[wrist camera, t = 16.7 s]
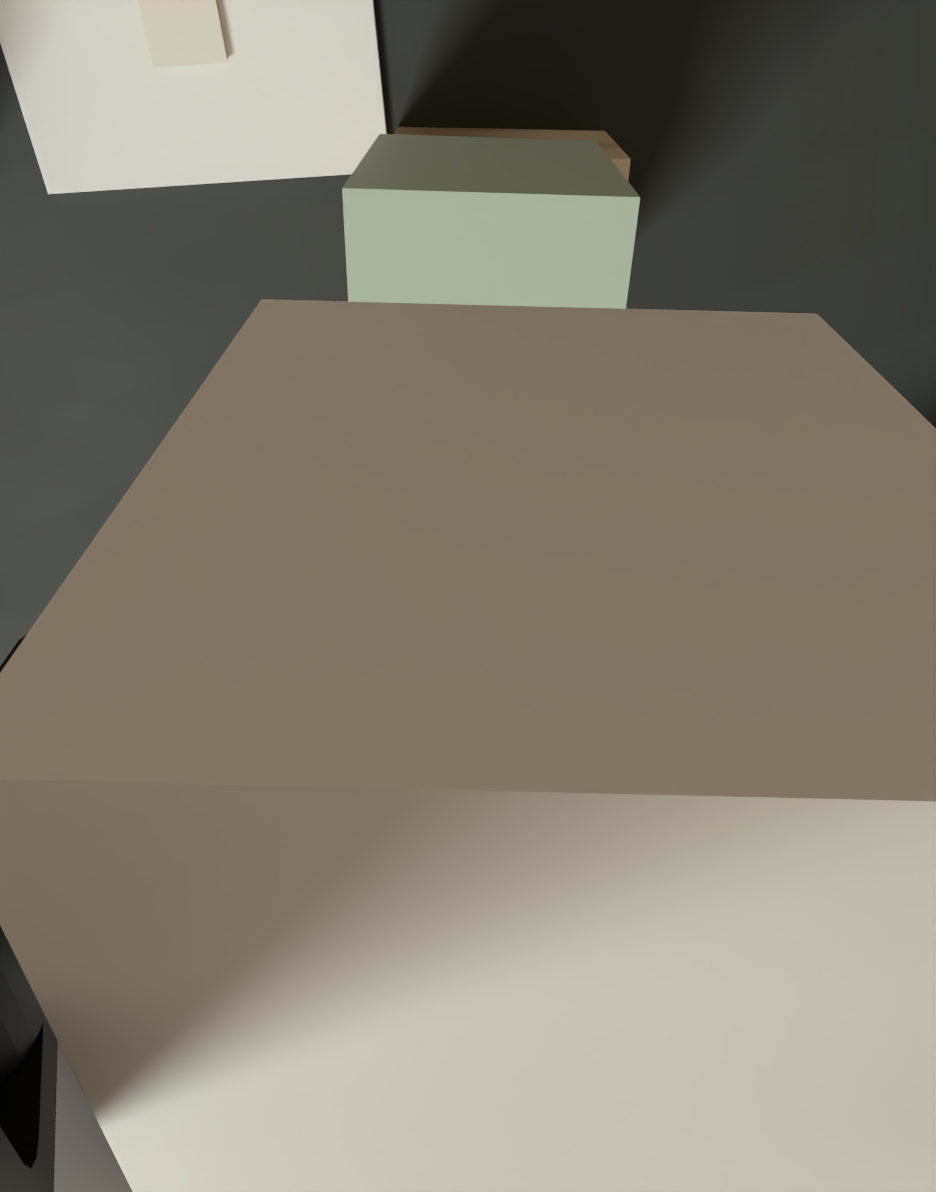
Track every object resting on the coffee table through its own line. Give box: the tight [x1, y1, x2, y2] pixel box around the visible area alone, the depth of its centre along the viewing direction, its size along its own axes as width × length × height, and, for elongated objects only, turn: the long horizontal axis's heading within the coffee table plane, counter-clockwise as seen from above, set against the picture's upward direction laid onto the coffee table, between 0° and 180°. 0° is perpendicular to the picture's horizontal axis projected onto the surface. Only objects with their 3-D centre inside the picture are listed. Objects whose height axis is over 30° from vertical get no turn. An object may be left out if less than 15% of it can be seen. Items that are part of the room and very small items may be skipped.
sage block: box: [342, 134, 640, 309], centre depth 22 cm, size 6×6×8 cm
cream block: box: [0, 299, 936, 1192], centre depth 9 cm, size 7×6×8 cm
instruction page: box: [0, 0, 387, 194], centre depth 27 cm, size 12×9×1 cm
